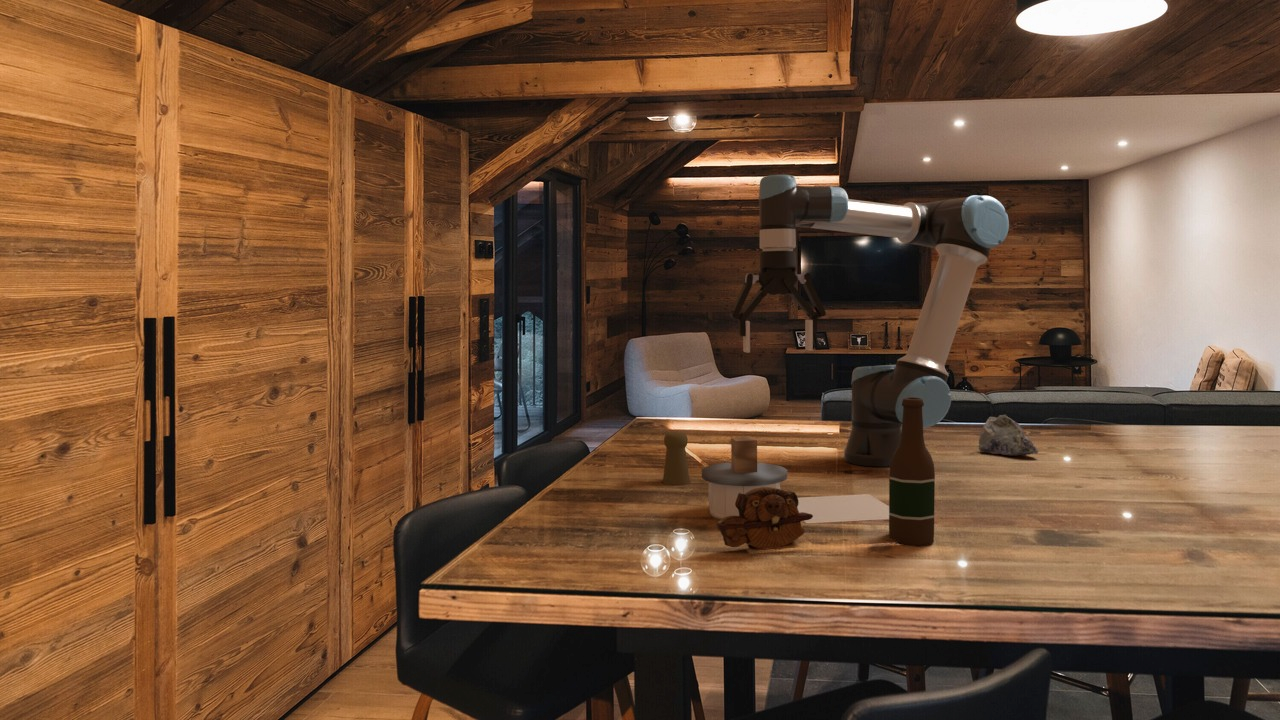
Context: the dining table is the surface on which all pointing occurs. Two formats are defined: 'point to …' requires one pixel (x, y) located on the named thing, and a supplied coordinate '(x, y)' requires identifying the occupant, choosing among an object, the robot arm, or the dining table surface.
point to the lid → (744, 467)
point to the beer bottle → (912, 482)
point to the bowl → (728, 498)
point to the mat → (843, 508)
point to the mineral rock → (1005, 438)
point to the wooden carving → (764, 519)
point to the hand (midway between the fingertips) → (777, 351)
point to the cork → (676, 459)
